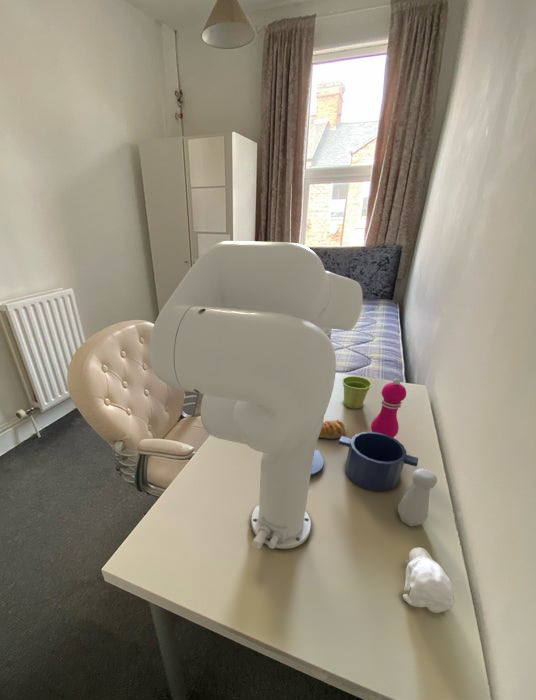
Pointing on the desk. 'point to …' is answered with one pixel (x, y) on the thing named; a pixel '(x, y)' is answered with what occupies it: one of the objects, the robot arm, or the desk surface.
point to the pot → (375, 460)
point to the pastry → (332, 429)
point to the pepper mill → (389, 409)
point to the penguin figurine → (427, 583)
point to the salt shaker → (417, 498)
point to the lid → (317, 463)
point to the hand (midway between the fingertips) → (304, 408)
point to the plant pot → (355, 391)
